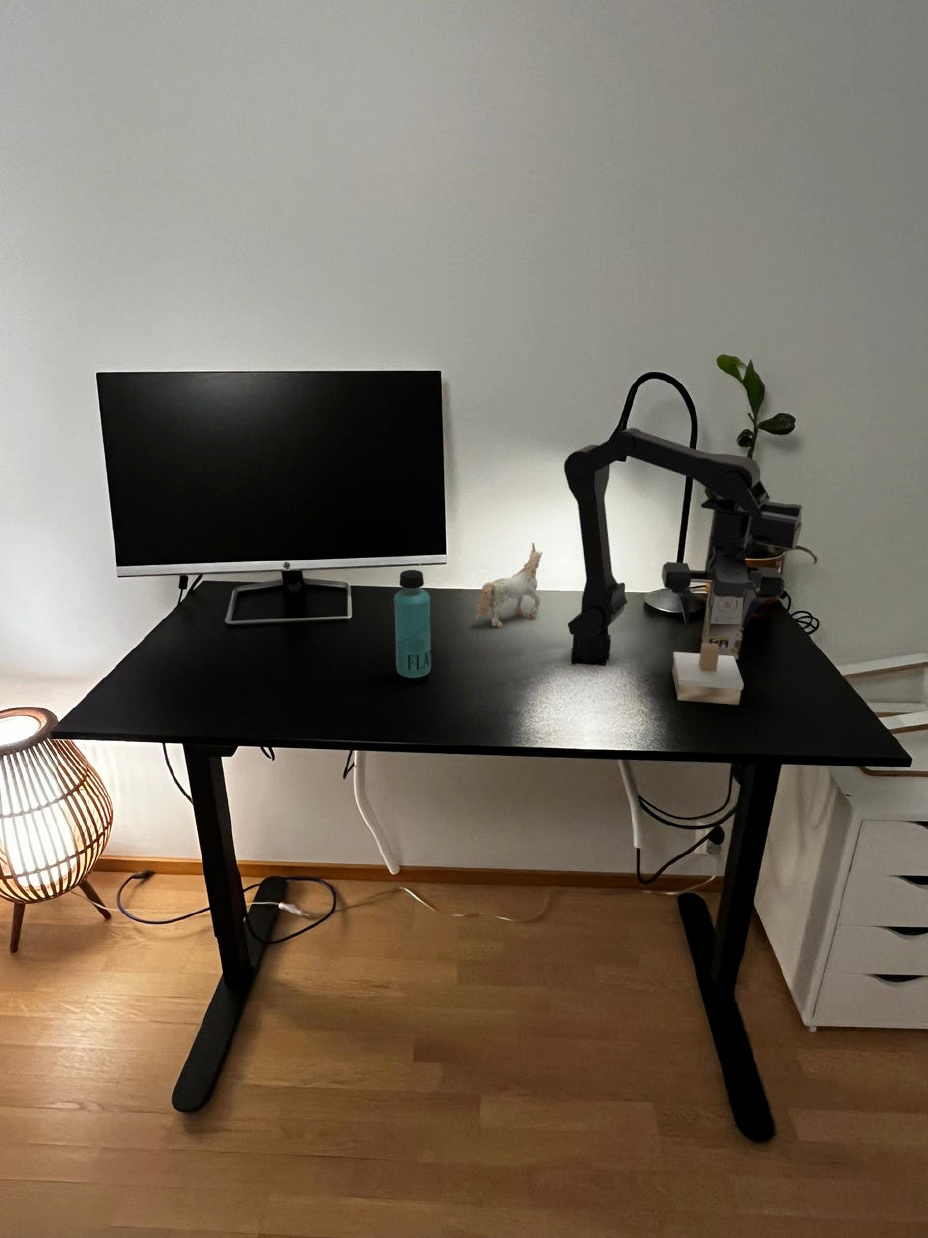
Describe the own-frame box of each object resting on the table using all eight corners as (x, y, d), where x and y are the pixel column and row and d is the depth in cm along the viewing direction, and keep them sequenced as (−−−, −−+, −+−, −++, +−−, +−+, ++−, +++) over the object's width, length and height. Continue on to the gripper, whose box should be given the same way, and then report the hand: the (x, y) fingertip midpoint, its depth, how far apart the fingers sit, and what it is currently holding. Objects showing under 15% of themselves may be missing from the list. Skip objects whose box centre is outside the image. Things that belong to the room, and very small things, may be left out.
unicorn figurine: (557, 608, 173) (560, 549, 167) (499, 638, 160) (501, 575, 154) (530, 600, 177) (533, 542, 172) (472, 627, 164) (473, 566, 158)
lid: (678, 684, 136) (682, 658, 134) (673, 656, 145) (676, 631, 143) (742, 689, 134) (747, 662, 132) (732, 661, 144) (737, 635, 142)
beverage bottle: (404, 689, 141) (401, 582, 133) (389, 672, 146) (386, 569, 138) (438, 681, 144) (437, 575, 135) (422, 665, 149) (420, 563, 141)
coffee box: (739, 661, 151) (753, 581, 144) (703, 658, 152) (716, 578, 146) (734, 640, 159) (747, 564, 153) (700, 637, 160) (712, 561, 154)
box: (677, 702, 137) (679, 684, 136) (672, 674, 146) (674, 657, 145) (738, 707, 136) (741, 688, 135) (729, 678, 145) (731, 661, 144)
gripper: (675, 551, 124) (663, 642, 130) (801, 557, 122) (782, 650, 128) (667, 528, 134) (656, 614, 140) (783, 534, 132) (767, 621, 138)
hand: (714, 625), depth 136 cm, fingers open, 9 cm apart
